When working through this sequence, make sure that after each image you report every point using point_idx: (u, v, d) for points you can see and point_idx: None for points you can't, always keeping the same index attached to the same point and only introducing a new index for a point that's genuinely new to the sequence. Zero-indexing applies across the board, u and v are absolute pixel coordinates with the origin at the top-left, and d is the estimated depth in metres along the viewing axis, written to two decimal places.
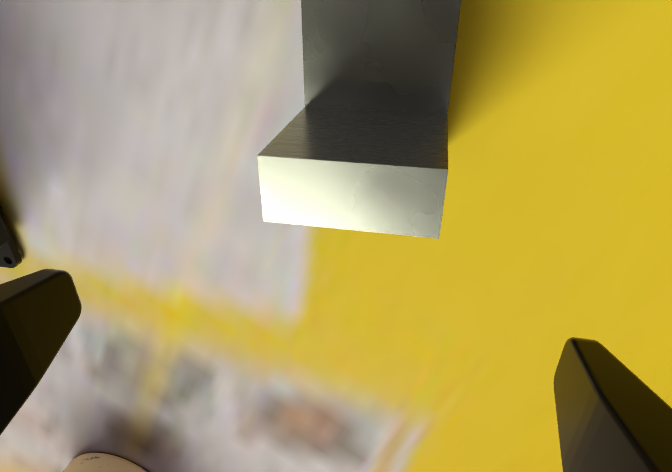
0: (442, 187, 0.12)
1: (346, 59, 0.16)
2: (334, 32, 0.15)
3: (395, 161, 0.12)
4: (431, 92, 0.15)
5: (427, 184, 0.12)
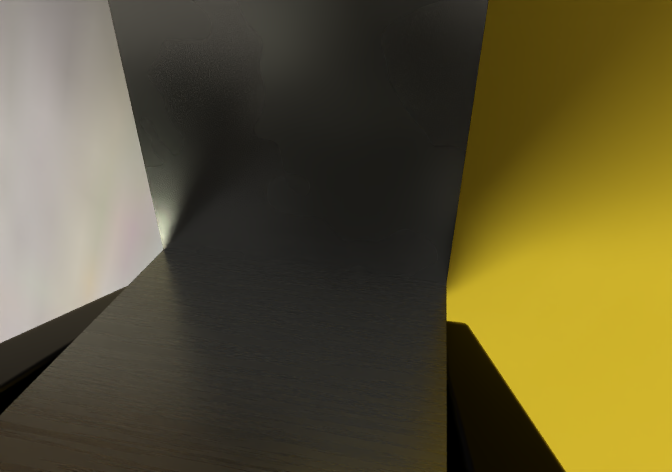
0: None
1: (230, 170, 0.07)
2: (198, 115, 0.07)
3: None
4: (412, 239, 0.07)
5: None
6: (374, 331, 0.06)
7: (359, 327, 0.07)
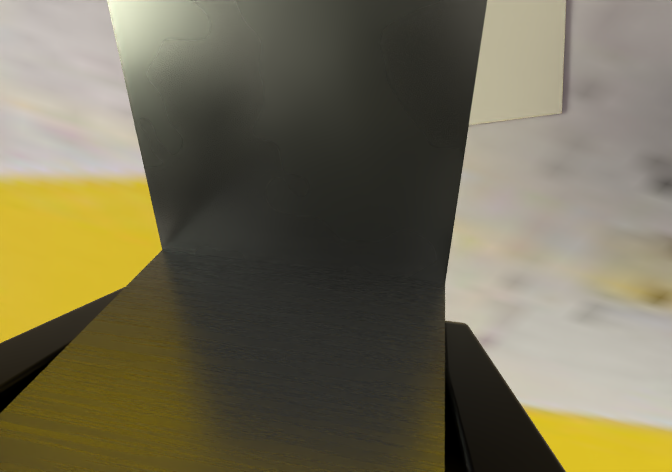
0: None
1: (229, 169, 0.07)
2: (197, 116, 0.07)
3: None
4: (411, 240, 0.07)
5: None
6: (373, 331, 0.07)
7: (358, 327, 0.07)
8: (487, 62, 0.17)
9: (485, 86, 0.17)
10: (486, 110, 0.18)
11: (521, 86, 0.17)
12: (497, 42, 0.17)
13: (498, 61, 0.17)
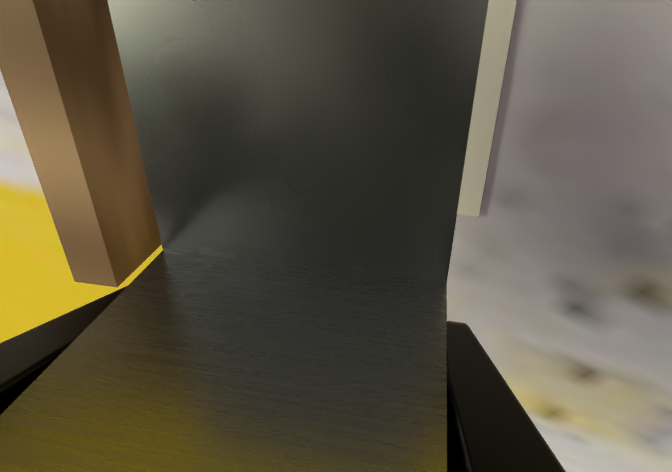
0: None
1: (230, 170, 0.07)
2: (198, 115, 0.07)
3: None
4: (412, 240, 0.07)
5: None
6: (374, 332, 0.06)
7: (359, 328, 0.07)
8: None
9: None
10: None
11: None
12: None
13: None
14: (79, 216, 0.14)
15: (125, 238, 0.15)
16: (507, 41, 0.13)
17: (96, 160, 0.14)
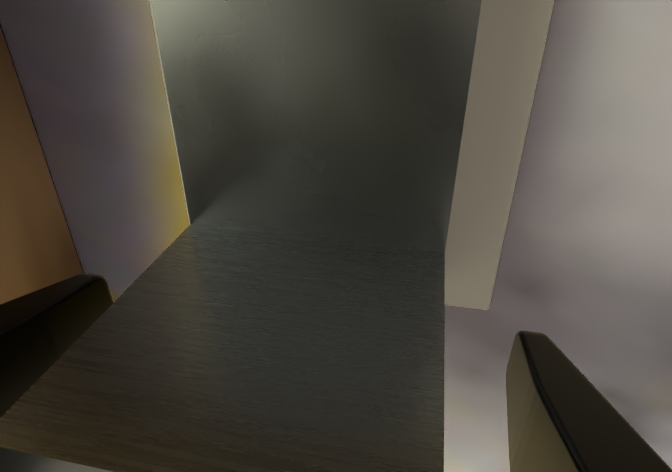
0: None
1: (253, 150, 0.08)
2: (227, 102, 0.08)
3: None
4: (414, 213, 0.08)
5: None
6: (381, 290, 0.07)
7: (368, 287, 0.07)
8: None
9: None
10: None
11: None
12: None
13: None
14: None
15: None
16: (534, 76, 0.09)
17: None
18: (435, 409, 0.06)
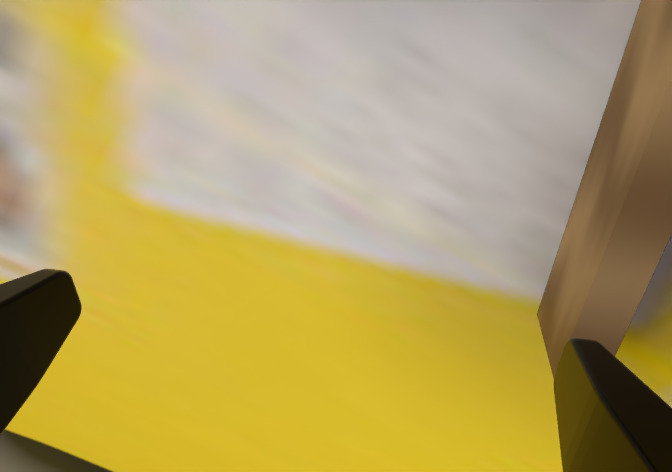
0: None
1: None
2: None
3: None
4: None
5: None
6: None
7: None
8: None
9: None
10: None
11: None
12: None
13: None
14: (605, 332, 0.16)
15: None
16: None
17: None
18: None
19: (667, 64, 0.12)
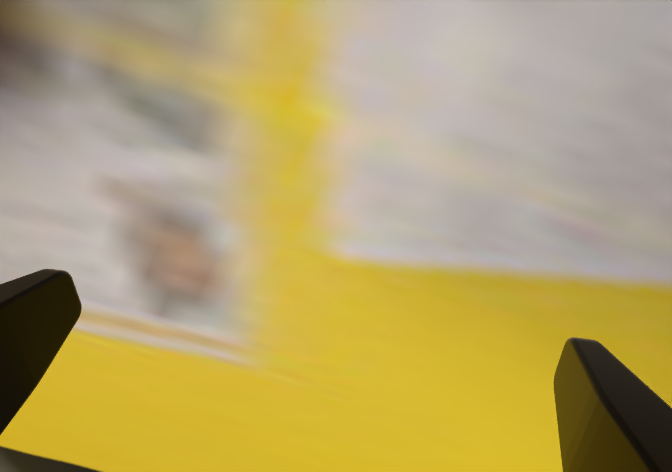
0: None
1: None
2: None
3: None
4: None
5: None
6: None
7: None
8: None
9: None
10: None
11: None
12: None
13: None
14: None
15: None
16: None
17: None
18: None
19: None
